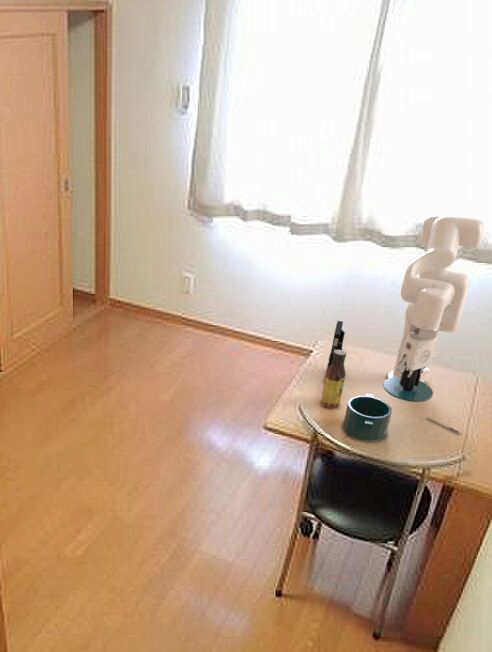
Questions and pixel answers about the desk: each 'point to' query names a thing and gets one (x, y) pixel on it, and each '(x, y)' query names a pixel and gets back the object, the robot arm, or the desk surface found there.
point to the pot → (367, 417)
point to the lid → (411, 394)
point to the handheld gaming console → (336, 341)
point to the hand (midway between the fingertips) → (408, 384)
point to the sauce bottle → (334, 380)
